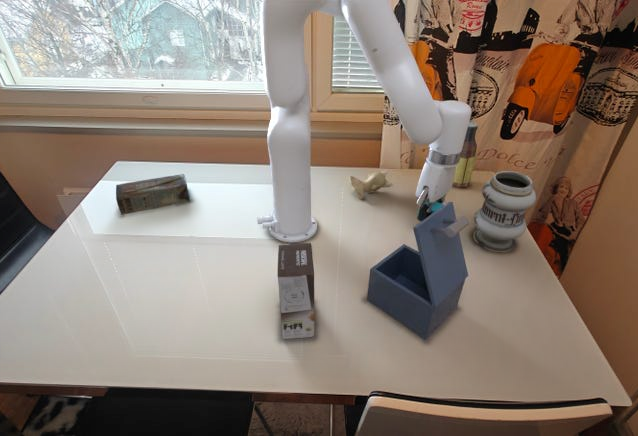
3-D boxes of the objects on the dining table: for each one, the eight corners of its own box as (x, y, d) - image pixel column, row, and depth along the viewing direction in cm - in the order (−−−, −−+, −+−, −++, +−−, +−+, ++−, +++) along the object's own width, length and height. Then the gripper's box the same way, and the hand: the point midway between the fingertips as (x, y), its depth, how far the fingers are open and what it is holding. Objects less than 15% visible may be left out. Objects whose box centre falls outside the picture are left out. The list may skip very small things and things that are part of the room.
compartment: (366, 299, 82) (369, 268, 77) (399, 273, 89) (404, 243, 84) (425, 340, 74) (433, 308, 69) (456, 308, 80) (466, 277, 75)
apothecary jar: (459, 237, 100) (475, 176, 90) (486, 221, 106) (504, 162, 96) (501, 261, 92) (524, 197, 82) (528, 243, 98) (552, 181, 88)
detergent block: (431, 226, 99) (434, 211, 97) (416, 218, 102) (419, 204, 100) (440, 219, 102) (444, 205, 100) (426, 212, 105) (429, 198, 102)
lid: (412, 227, 65) (440, 229, 60) (448, 201, 71) (476, 201, 67) (432, 306, 69) (460, 313, 65) (464, 275, 75) (491, 279, 71)
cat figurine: (346, 173, 116) (383, 160, 116) (349, 188, 122) (385, 175, 122) (355, 193, 111) (394, 178, 111) (358, 207, 117) (395, 194, 117)
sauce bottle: (466, 179, 126) (481, 120, 115) (471, 189, 121) (486, 128, 110) (446, 178, 126) (458, 119, 115) (449, 188, 121) (463, 127, 110)
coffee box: (315, 337, 74) (315, 275, 65) (282, 339, 74) (277, 277, 64) (312, 301, 82) (311, 242, 72) (281, 303, 81) (277, 243, 72)
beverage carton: (191, 202, 114) (187, 183, 110) (120, 217, 107) (113, 196, 104) (188, 189, 120) (183, 170, 116) (120, 203, 113) (113, 183, 110)
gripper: (447, 140, 99) (433, 201, 109) (409, 160, 89) (398, 224, 99) (475, 150, 94) (457, 212, 105) (438, 171, 85) (423, 237, 95)
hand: (428, 217), depth 102 cm, fingers closed on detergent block, 4 cm apart
